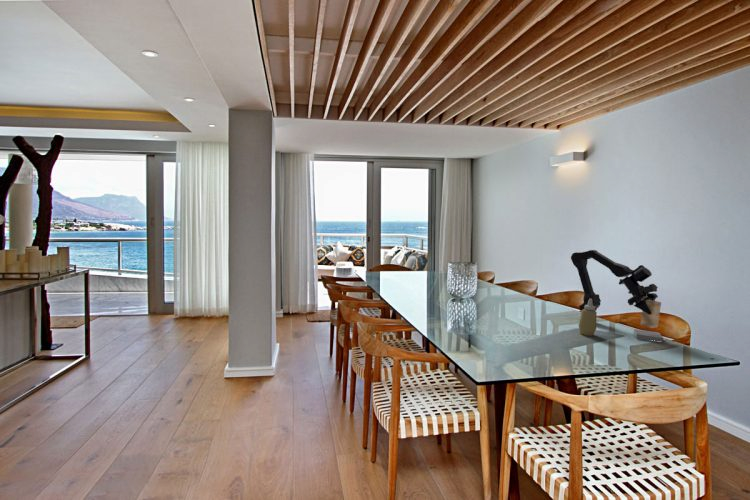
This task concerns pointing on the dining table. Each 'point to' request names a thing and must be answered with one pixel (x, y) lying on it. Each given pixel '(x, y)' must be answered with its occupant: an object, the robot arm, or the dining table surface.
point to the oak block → (653, 318)
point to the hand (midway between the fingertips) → (653, 313)
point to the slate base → (647, 335)
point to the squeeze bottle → (588, 319)
